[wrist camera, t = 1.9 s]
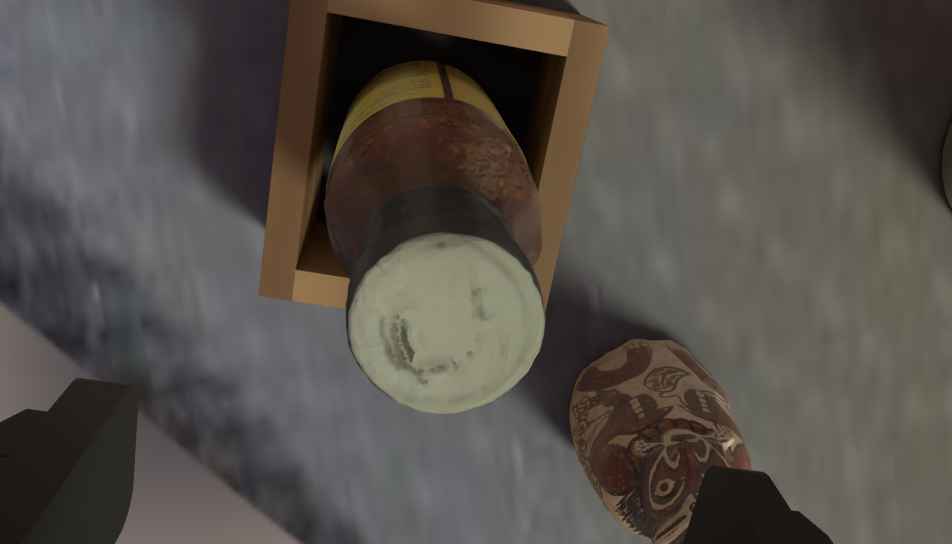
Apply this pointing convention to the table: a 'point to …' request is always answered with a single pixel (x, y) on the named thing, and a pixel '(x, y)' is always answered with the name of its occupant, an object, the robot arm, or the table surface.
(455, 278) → the sauce bottle
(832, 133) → the table surface
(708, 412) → the figurine
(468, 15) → the square holder
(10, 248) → the table surface
